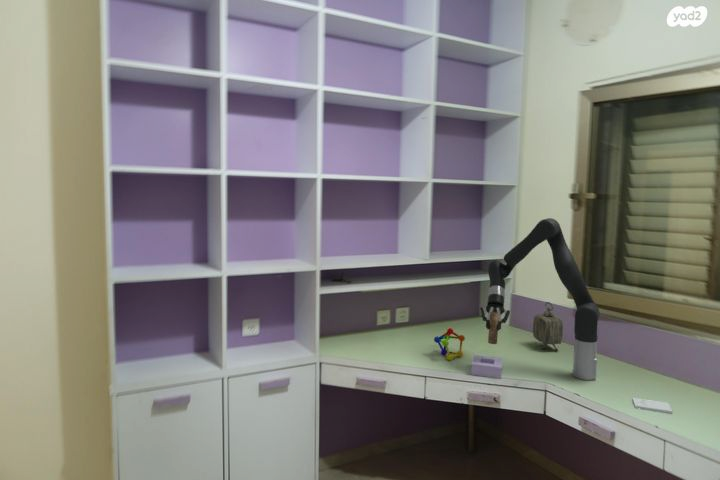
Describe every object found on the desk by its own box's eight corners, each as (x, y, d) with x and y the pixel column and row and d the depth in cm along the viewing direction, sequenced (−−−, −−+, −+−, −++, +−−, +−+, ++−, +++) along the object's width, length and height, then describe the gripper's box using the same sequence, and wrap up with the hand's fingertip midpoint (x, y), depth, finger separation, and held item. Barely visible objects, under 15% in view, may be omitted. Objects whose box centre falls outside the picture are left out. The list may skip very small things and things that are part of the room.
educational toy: (442, 352, 252) (445, 323, 251) (465, 358, 244) (467, 328, 243) (427, 357, 240) (430, 327, 239) (450, 363, 232) (453, 332, 231)
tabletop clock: (561, 352, 251) (564, 305, 248) (545, 353, 249) (548, 306, 247) (546, 343, 265) (549, 299, 262) (531, 344, 263) (533, 299, 261)
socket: (501, 368, 227) (502, 358, 227) (501, 378, 215) (501, 367, 214) (473, 364, 231) (474, 354, 231) (471, 374, 219) (471, 364, 218)
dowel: (497, 341, 224) (499, 312, 222) (496, 344, 220) (498, 314, 218) (488, 340, 225) (490, 311, 223) (487, 343, 221) (489, 313, 219)
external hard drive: (672, 415, 183) (634, 409, 187) (667, 406, 190) (631, 400, 195) (672, 411, 183) (635, 405, 187) (667, 402, 190) (632, 396, 195)
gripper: (480, 291, 229) (477, 323, 219) (512, 294, 225) (509, 327, 215) (481, 300, 235) (477, 331, 225) (511, 303, 230) (509, 335, 220)
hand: (493, 329), depth 220 cm, fingers closed on dowel, 4 cm apart
